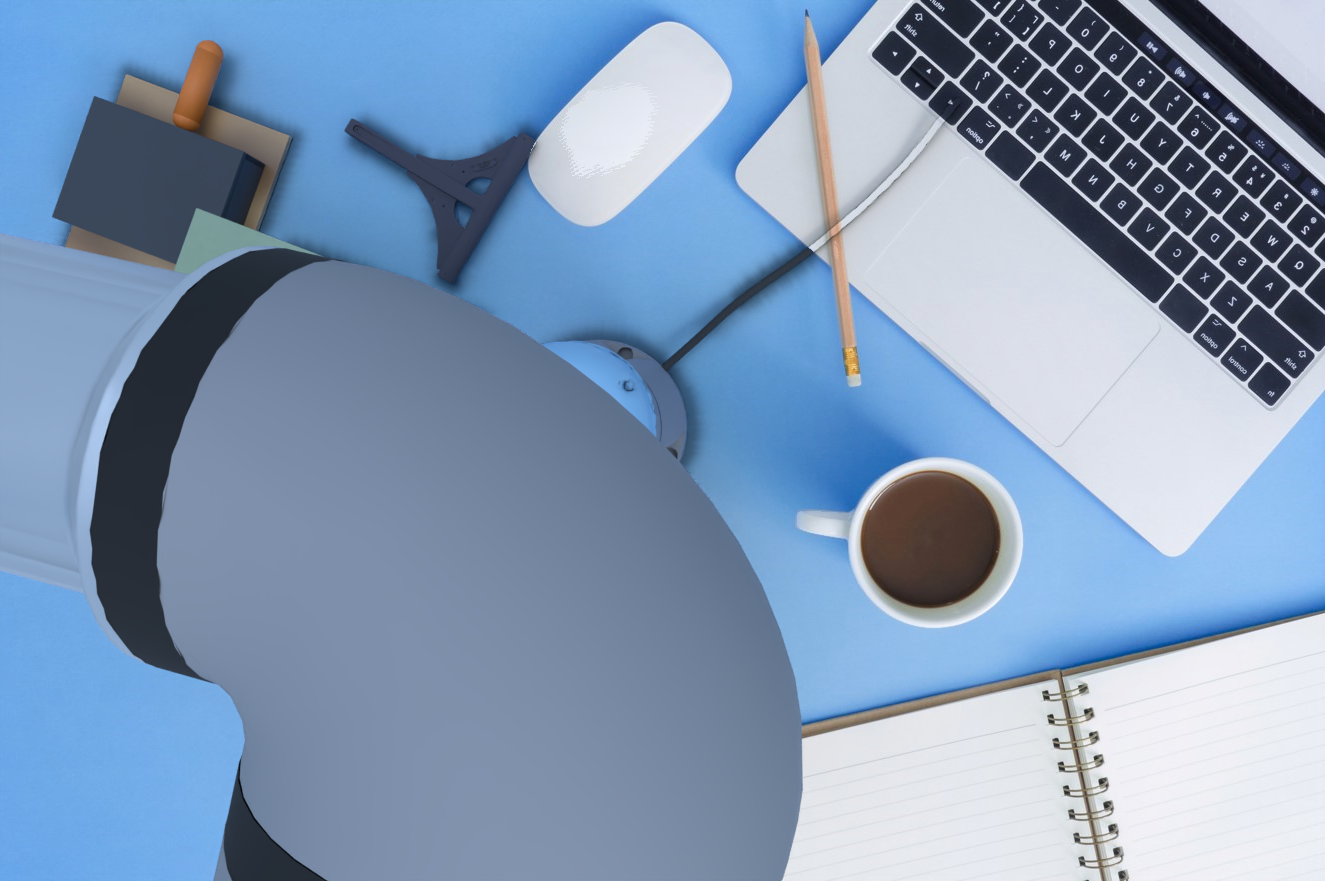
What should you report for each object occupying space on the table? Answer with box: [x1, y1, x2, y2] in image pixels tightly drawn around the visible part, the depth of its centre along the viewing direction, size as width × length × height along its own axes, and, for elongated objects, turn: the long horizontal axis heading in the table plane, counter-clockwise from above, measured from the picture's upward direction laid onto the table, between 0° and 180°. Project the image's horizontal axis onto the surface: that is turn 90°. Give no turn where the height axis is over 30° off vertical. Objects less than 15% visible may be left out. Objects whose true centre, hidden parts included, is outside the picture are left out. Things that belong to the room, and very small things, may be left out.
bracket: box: [344, 117, 537, 285], centre depth 77 cm, size 14×15×3 cm
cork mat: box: [64, 73, 293, 271], centre depth 79 cm, size 20×16×1 cm
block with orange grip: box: [51, 39, 265, 264], centre depth 77 cm, size 4×14×19 cm
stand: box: [174, 208, 325, 274], centre depth 71 cm, size 10×18×15 cm, turn 69°
